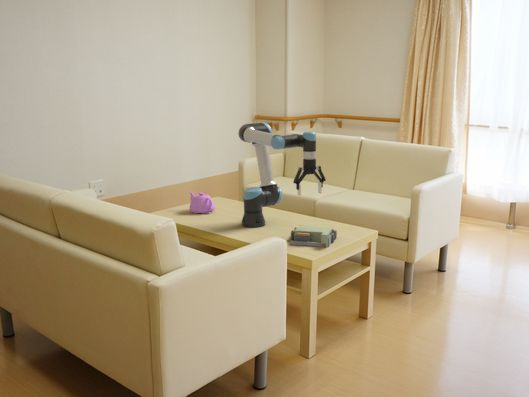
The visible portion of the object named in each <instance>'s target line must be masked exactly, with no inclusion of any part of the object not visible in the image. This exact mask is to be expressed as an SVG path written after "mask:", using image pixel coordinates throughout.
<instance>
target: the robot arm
mask: <svg viewBox="0 0 529 397" xmlns="http://www.w3.org/2000/svg"><path fill="white" fill-rule="evenodd" d="M237 134H238V138H239V139H240V141H242V142H244V143H248V144H249V143H251V145H252V146H253V147H254V149H255V154H256V162H257V167H258V168H257V169H258V172H259V178H260V179H259V180H260V185H259V186H254V187H249V188H248V187H247V188H246V189H245V190H244V191H243V215H242V219H241V226H242V227H246V228H259V227H260V228H261V227H264V226H265V225H266V218H265V216H264V213H263V208H265V207H270V206H277V205H278V204H279V203H281V201H282V199H283V191H282V189H281V187H280V186H278V183H277V182H276V181H275V179H274V172H273V167H272V162H271V155H270V149H269V147H272V149H274V150H285V149H292V148H294V149H295V148H302V153H303V154H302V158H303V160H302V167H300V166H299V167H297V172H296V175H295V176H294V179H293V181H292V183H293V184H295V188H296V190H297V196H301V195H302V194H301V193H302V191H301V190H302V185H301V182H303V180H304V179H305V177H306V176H308V175H313V176H315V178H316V179H317V181H318V182H317V185H318V186H317V189H318V190H317V192H318V194H322V188H323V186H324V182H326V180H327V179H326V177H325V175H324V173H323V171H322V166H321V165H317V159H316V157H317V134H316V132H315V131H304V132H303V133H302V134H300V133H299V134H298V133H291V134H289V135H280V134H275V133H273V130H272V127H271V126H270V125H269V124H268V123H266V122H255V123H245V124H243V125H241V126H240V127H239V129H238V133H237ZM316 170H317V171H316Z"/></svg>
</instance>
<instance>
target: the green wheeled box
mask: <svg viewBox="0 0 529 397" xmlns="http://www.w3.org/2000/svg"><path fill="white" fill-rule="evenodd" d="M296 233H311V242H304V241H294V240H295V234H296ZM337 235H338V232H337V229H334V227H330V226H317V225H316V226H315V225H314V226H313V225H299V226H297V227H294V229H293V230H291V232H290V239H291V240H290V245H291V244H298V245H297V246H305V245H307V247H321V248H328V247H330V246H331V244H332V243H334V242H335V240H337Z"/></svg>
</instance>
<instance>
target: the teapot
mask: <svg viewBox="0 0 529 397" xmlns="http://www.w3.org/2000/svg"><path fill="white" fill-rule="evenodd" d="M189 194H190V204H189V211H190V212H191V213H192V212H193V213H192V214H195V213H206V214H210V213H209V212H211V213H213V211H214V210H215V208H216V207H215V202H214V201H213V199H212V197H211V196H210V195H209V194H205V193H204V192H198V194H196V195H195V194H194V192H193V191H192V190H189Z"/></svg>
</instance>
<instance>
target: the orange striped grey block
mask: <svg viewBox="0 0 529 397" xmlns="http://www.w3.org/2000/svg"><path fill="white" fill-rule="evenodd" d="M295 241H304V242H311V233H296V234H295Z"/></svg>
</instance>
